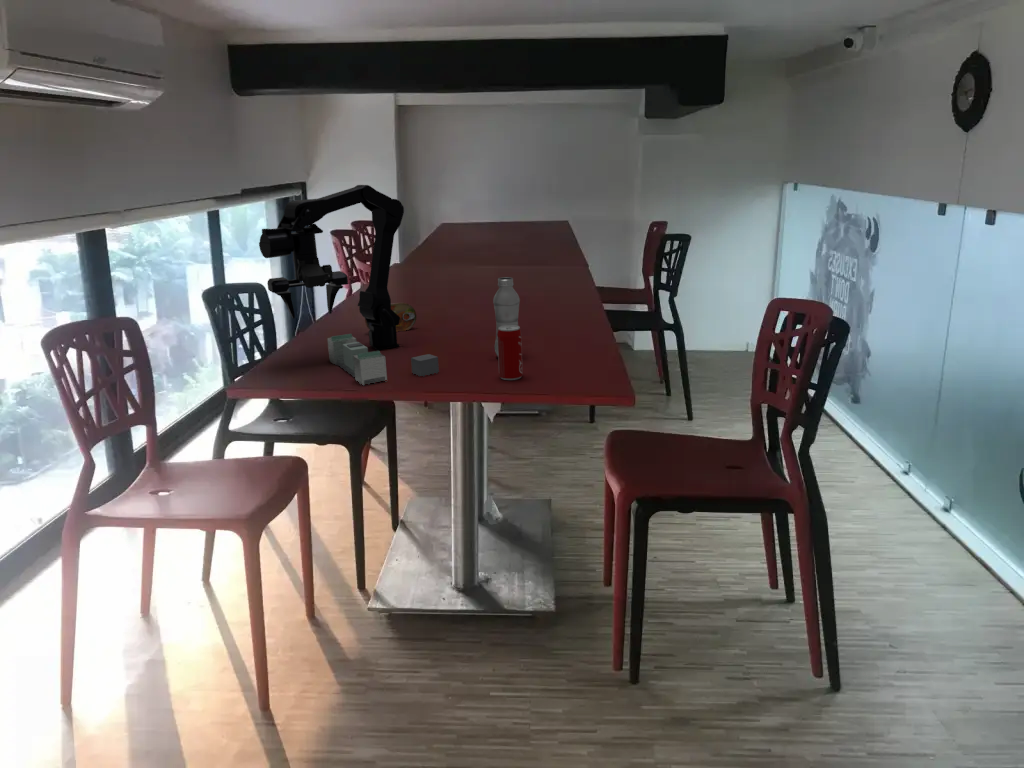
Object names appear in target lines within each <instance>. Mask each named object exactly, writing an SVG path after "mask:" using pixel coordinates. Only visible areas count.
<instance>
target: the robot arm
mask: <svg viewBox="0 0 1024 768" xmlns="http://www.w3.org/2000/svg"><path fill="white" fill-rule="evenodd" d="M358 204H361V205H362V206H363V207H365V209H366V210H368V211H369V212H371V221H372V225H373V227H374V230H375V231H374V232H375V235H374V242H373V251H372V258H371V265H370V273H369V274H370V275H369V282H368V286H367V288H366V289H365V291H364V290H360V291H359V293H358V294H359V300H358V302H357V303H358V304H357V307H359V313H360V315H362V317H363V318H364V321H365V320H366V322H367V323H368V324H370V330H369V329H368V339H369V346H370V347H372V348H374V349H375V351H380V350H386V349H392V348H398V347H400V344H399V343H398V336H397V335H398V334H397V332H396V325H398V324H399V320H400V317H399V316H398V315H397V314H396V313H395V312H394V311H392V310H391V304H392V299H391V296H390V293H389V289H388V285H389V284H388V283H389V276H390V270H391V269H390V268H391V263H392V255H393V246H394V237H395V235H396V232H397V231H398V229H399V227H400V226H401V224H402V220H403V217H404V214H405V213H404V212H405V207H404V205H403V203H402V202H401V201H400V200H399V199H396V198H391V197H390V196H388V195H386V194H384V193H382V192H380V191H378V190H376V189H375V188H374V187H372V186H371V185H368V184H357V185H356V186H354V187H351V188H350V187H349V188H347V189H344V190H341V191H339V192H335V193H331V194H327V195H325V196H322V197H319V198H311V199H298V200H291V201H289V202H287V203H286V205H285V208H284V214H283V215H282V218H281V220H280V222H279V224H278V225H277V227H276V228H262V229H261V235H260V238H259V242H258V245H259V250H260V254H261V255H262V257H264V258H265V259H270V258H272V259H273V258H279V257H286V256H287V257H288V256H290V255H291V254H292V261H293V264H294V266H293V267H294V278H295V279H287V278H285V277H284V276H282V277H272V278H268V280H267V289H268V291H269V292H271V293H273V294H275V295H277V296H279V297H280V298H281V299H282V301H283V302H284V304H285V306H286V308H287V310H288V312H289V314H290V316H291V318H292V319H295V318H296V317H295V316H296V315H295V309H294V304H293V301H292V292H291V291H289V290H290V288H296V287H297V288H298V287H305V288H308V289H312V288H315V287H325V290H326V305H327V310H328V311H327V312H328V314H330V315H332V312H333V307H334V304H335V300H336V296H337V293H338V292H339V291H340V289H344V285H349V277H348V275H347V274H346V273H345V272H343V271H341V270H340V271H339V270H336V271H333V268H332V265H331V264H323V265H322V266H321V265H320V259H319V257H318V250H317V241H316V235H318V234H322V233H324V230H323V229H321V227H319V226H318V225H317V224H316V223H317V222H319V221H320V220H322V219H323V218H324V217H325V216H327V215H329V214H331V213H334V212H337V211H340V210H342V209H345V208H348V207H352V206H355V205H358Z"/></svg>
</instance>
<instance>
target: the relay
mask: <svg viewBox="0 0 1024 768" xmlns="http://www.w3.org/2000/svg"><path fill="white" fill-rule="evenodd" d="M410 361H411V365H410V366H411V374H412V373H413V374H412V375H414V374H416V375H415V376H417V375H418V377H420V376H423V377H426V376H425V375H428V376H431V375H430V374H432V375H435V374H434V373H436V374H439V373H440V369H439V368H440V366H439V356H436V355H433V354H430V353H427V354H423V355H418V356H413V357H410ZM438 372H439V373H438Z"/></svg>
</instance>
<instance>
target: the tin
mask: <svg viewBox="0 0 1024 768" xmlns="http://www.w3.org/2000/svg"><path fill="white" fill-rule="evenodd" d="M391 310H392V311H394V312H395V313H396V314H397V315H398V316H399V317H400V320H399V324H398V325H396V333H399V332H398V331H402V332H406V330H407V331H409V330H410V329H412V328H413V327H414V326H415V325H416V322H417V312H416V310H415V308H414V306H412V305H411V304H409V303H408V302H407V303H406V302H395V303H391ZM364 322H365V325H366V327H367V329H368V331H369V330H370V324H368V323H367V322H366V320H365V319H364Z"/></svg>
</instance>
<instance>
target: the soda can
mask: <svg viewBox="0 0 1024 768" xmlns="http://www.w3.org/2000/svg"><path fill="white" fill-rule="evenodd" d="M497 340H498V356H497V359H498V376H499V378H500V379H501V380H504V381H517V380H520V379H521V378H522V377H523V375H524V374H523V373H524V372H523V345H522V343H523V342H522V330H521V327H520V325H518V326H515V325H506V326H501V327H499V328H498V333H497Z"/></svg>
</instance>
